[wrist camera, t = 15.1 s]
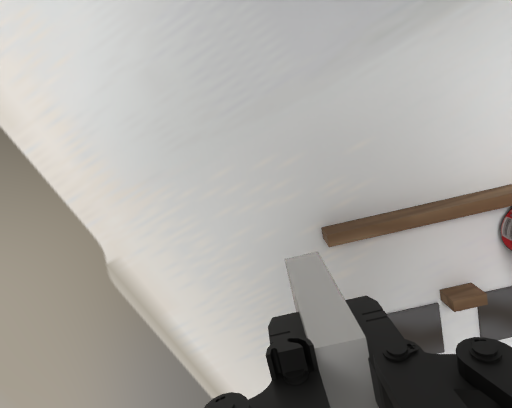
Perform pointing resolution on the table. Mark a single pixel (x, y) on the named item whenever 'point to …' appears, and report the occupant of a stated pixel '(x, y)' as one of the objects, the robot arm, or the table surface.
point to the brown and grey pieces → (457, 298)
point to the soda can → (507, 230)
